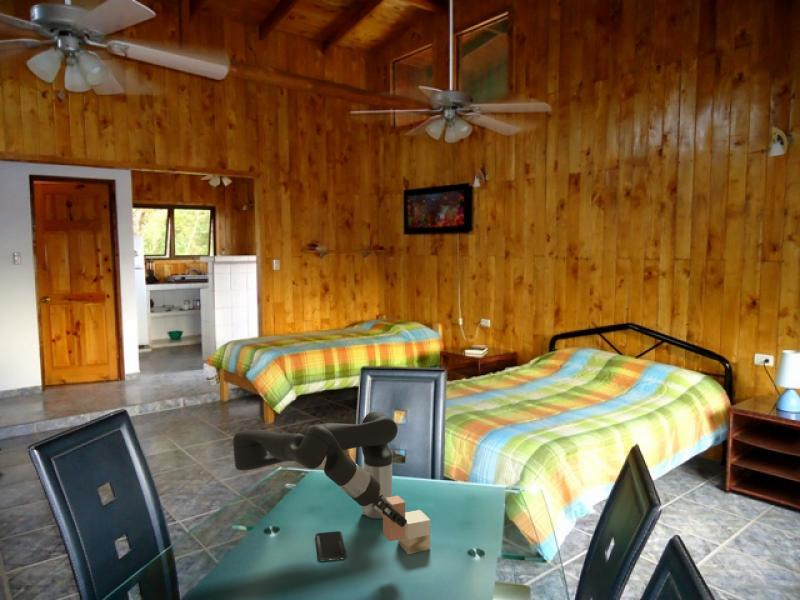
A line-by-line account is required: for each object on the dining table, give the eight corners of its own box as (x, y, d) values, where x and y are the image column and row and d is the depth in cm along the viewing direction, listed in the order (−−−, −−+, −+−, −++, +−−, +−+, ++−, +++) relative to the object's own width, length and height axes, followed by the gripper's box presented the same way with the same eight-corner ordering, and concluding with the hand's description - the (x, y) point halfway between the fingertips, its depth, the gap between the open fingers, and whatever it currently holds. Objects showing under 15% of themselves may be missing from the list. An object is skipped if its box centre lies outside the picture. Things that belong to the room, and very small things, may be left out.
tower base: (408, 554, 164) (408, 539, 163) (398, 543, 170) (398, 528, 170) (430, 549, 167) (430, 534, 166) (419, 538, 173) (419, 524, 173)
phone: (318, 559, 159) (315, 533, 174) (318, 563, 159) (315, 536, 174) (346, 556, 161) (341, 530, 176) (346, 560, 161) (341, 534, 176)
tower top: (408, 539, 164) (408, 524, 163) (398, 528, 170) (398, 513, 170) (430, 534, 166) (430, 519, 166) (419, 524, 173) (420, 509, 172)
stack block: (389, 541, 152) (389, 505, 152) (383, 533, 157) (383, 498, 156) (405, 538, 154) (405, 502, 153) (398, 530, 158) (398, 495, 158)
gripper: (340, 485, 155) (381, 520, 161) (358, 507, 142) (402, 543, 149) (358, 463, 157) (398, 498, 163) (378, 482, 144) (421, 519, 150)
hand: (400, 519), depth 156 cm, fingers closed on stack block, 4 cm apart
